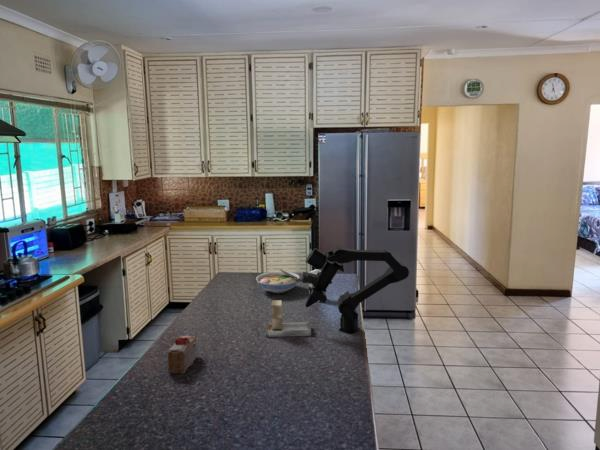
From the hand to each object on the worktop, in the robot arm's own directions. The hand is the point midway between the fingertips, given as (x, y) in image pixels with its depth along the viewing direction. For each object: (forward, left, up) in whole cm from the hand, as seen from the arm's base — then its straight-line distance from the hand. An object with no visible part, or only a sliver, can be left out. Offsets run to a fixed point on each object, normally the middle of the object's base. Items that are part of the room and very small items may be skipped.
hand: (306, 306), depth 183 cm
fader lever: (+9, +8, -9) cm, 15 cm away
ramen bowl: (+43, -32, -11) cm, 55 cm away
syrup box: (+19, -33, -11) cm, 40 cm away
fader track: (+6, +5, -11) cm, 13 cm away
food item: (+19, +47, -11) cm, 52 cm away
